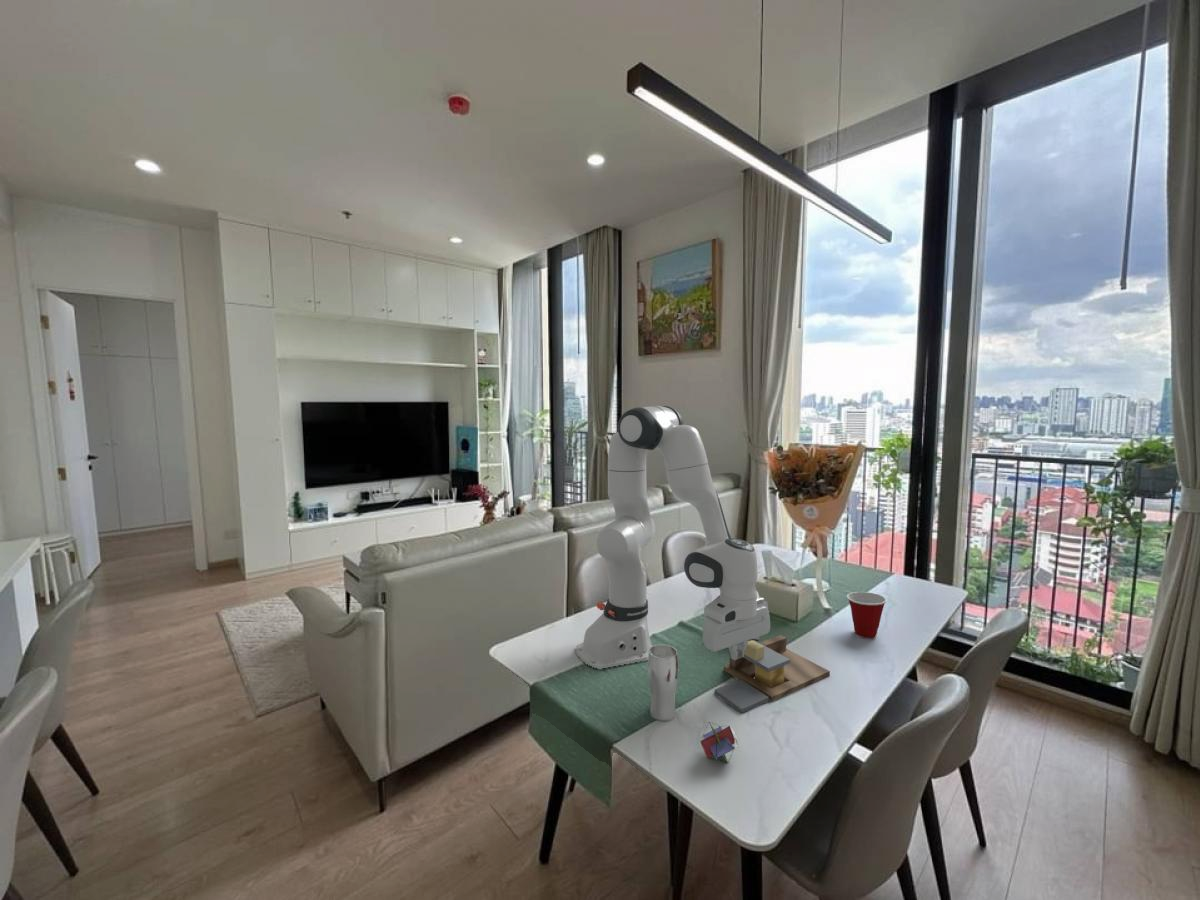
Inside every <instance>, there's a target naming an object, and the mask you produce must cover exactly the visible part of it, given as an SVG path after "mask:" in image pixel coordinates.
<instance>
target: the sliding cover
mask: <svg viewBox="0 0 1200 900" xmlns="http://www.w3.org/2000/svg"><path fill="white" fill-rule="evenodd" d="M737 647H738V645H737ZM736 649H737V648H736ZM744 658H745V659H747V660H749V661H750V662H752V663H754V664H755V665H757V666H759V667H760V668H762V669H764V670H766V671H767V672H770V671H772V670H774V669H777V668H779V667H782V666H784V665H787V664H789V663H790V659H788V658H787V657H785V656H783V655H781V654H779V653H777V652H775V651H773V650H772V649H770V648H768V647H766V646H764V645H762V644H760V642H759V641H757V640H756V639H751V640H748V644H747V647H746V649H745V651H744Z"/></svg>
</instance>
